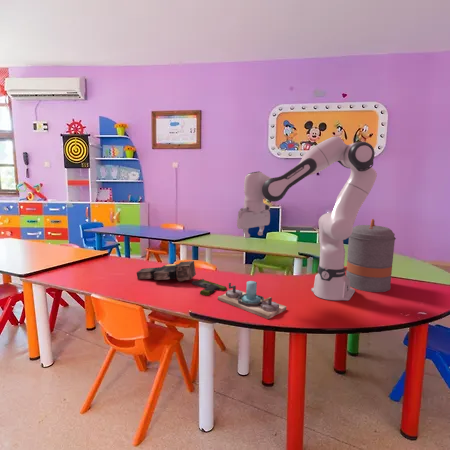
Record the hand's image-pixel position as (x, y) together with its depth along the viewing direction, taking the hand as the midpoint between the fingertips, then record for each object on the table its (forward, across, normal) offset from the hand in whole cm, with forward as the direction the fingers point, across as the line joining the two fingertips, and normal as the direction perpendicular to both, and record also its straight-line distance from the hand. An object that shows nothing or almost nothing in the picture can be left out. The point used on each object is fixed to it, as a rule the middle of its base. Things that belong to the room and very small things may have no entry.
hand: (254, 236), depth 152 cm
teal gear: (+26, -12, -8) cm, 30 cm away
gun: (+27, -12, +22) cm, 37 cm away
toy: (+26, -18, +47) cm, 56 cm away
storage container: (+30, +54, -32) cm, 69 cm away
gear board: (+28, -12, -8) cm, 31 cm away
